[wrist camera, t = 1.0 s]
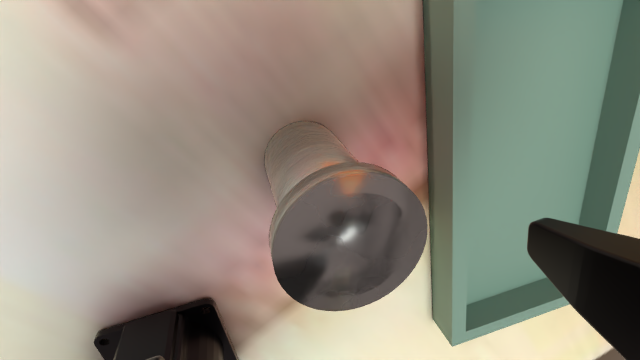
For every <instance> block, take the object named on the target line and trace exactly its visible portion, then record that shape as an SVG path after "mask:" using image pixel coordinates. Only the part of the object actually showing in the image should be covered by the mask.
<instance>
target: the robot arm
mask: <svg viewBox="0 0 640 360" xmlns="http://www.w3.org/2000/svg"><path fill="white" fill-rule="evenodd" d="M527 251H528V254H529V256H530V257H531V259H532V260H533V261H534V262H535V264H536V265H537V266H538V267H539V268H540V269H541V271H542V272H543V273H544V274H545V275H546V277H547V278H548V279H549V280H550V281H551V282H552V284H553V285H554V286H555V287H556V288H557V289H558V291H559V292H560V293H561V294H562V295H563V296H564V298H565V299H566V300H567V301H568V302H569V303H570V304H571V306H572V307H573V308H574V309H575V310H576V311H577V312H578V313H579V314H580V315H581V316H582V317H583V318H584V319H585V320H586V321H587V322H588V323H589V324H590V325H591V326H592V327H593V328H594V329H595V330H596V331H597V332H598V333H599V334H600V335H601V336H602V337H603V338H604V339H605V340H606V341H607V342H608V343H610V344H611V345H612V346H613V347H614V348H615V349H616V350H617V351H618V352H619V353H620V354H621V355H622V356H623V357H624V358H625V359H626V360H640V239H638V238H633V237H629V236H625V235H621V234H616V233H612V232H608V231H603V230H599V229H595V228H591V227H586V226H582V225H578V224H573V223H569V222H565V221H561V220H556V219H552V218H542V219H539V220H536V221H533V222H531V223H530V225H529V227H528V239H527ZM204 307H209V308H208V309H204ZM105 339H107V340H105ZM94 344H95V346H96V348H97V349H98V351H99V352H100V354H101V355H102V356H103V358H104V359H105V360H239V359H238V357H237V355H236V352H235V350H234V347H233V345H232V343H231V340H230V338H229V335H228V333H227V331H226V328H225V326H224V323H223V321H222V319H221V316H220V314H219V311H218V309H217V307H216V304H215V302H214V301H213V300H211V299H202V300H199V301H196V302H192V303H189V304H186V305H183V306H179V307H176V308H173V309H169V310H166V311H163V312H160V313H156V314H153V315H150V316H147V317H143V318H140V319H137V320H133V321H130V322H127V323H124V324H120V325H117V326H114V327H111V328H107V329H104V330H101V331H99V332H98V333H97V335H96V337H95V340H94Z"/></svg>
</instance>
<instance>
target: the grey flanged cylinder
mask: <svg viewBox="0 0 640 360" xmlns="http://www.w3.org/2000/svg"><path fill="white" fill-rule="evenodd" d="M264 163H265V169H266V172H267V176H268V179H269V183H270V186H271V190H272V193H273V197H274V200H275V204H276V207H277V209H276V211H275V213H274V216H273V218H272V221H271V225H270V231H269V247H270V251H271V256H272V261H273V266H274V271H275V274H276V277H277V279H278V281H279V283H280V285H281V286H282V288H283V289H284V290H285V291H286V292H287V294H288V295H290V296H291V297H292V298H293V299H294V300H296V301H298V302H299V303H301V304H303V305H306V306H308V307H311V308H314V309H318V310H325V311H344V310H350V309H355V308H358V307H362V306H365V305H368V304H370V303H372V302H375V301H377V300H379V299H381V298H382V297H384V296H385V295H387V294H389V293H390V292H391V291H393V290H394V289H395V288H397V287H398V286H399V285H400V284H401V283H402V282H403V281H404V280H405V279H406V278H407V277H408V276H409V274H410V273H411V272H412V270H413V269H414V268H415V266H416V264H417V263H418V261H419V259H420V257H421V255H422V253H423V250H424V247H425V243H426V238H427V219H426V215H425V211H424V209H423V206H422V204H421V202H420V201H419V199H418V198H417V196H416V195H415V194H414V193H413V192H412V191H411V190H410V189H409V188H408V187H407V186H406V185H405V184H404V183H403V182H401V181H400V180H399V179H398V178H397V177H396V176H395V175H393V174H392V173H391V172H389V171H388V170H386V169H384V168H382V167H379V166H376V165H373V164H369V163H363V162H358V160H357V159H356V158H355V157H354V156H353V155H352V154H351V153H350V152H349V151H348V150H347V148H346V147H345V146H344V145H343V144H342V143H341V142H340V141H339V140H338V139H337V138H336V137H335V135H334V134H333V133H332V132H331V131H330V130H329V129H327V128H326V127H324V126H323V125H321V124H318V123H315V122H310V121H300V122H295V123H292V124H289V125H287V126H285V127H283V128H282V129H280V130H279V131H278V132H277V133H276V134H275V135H274V136H273V137H272V139H271V140H270V142H269V143H268V146H267V148H266V151H265V157H264Z"/></svg>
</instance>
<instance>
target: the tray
mask: <svg viewBox="0 0 640 360" xmlns="http://www.w3.org/2000/svg"><path fill="white" fill-rule="evenodd" d="M423 20H424V52H425V84H426V116H427V148H428V180H429V212H430V244H431V277H432V309H433V320H434V321H435V323H436V324H437V326H438V327H439V328H440V330H441V331H442V333H443V334H444V336H445V337H446V339H447V340H448V341H449V343H450V344H451V346H452V347H453V346H455V345H458V344H461V343H464V342H466V341H469V340H472V339H475V338H477V337H480V336H483V335H486V334H489V333H491V332H494V331H497V330H500V329H502V328H505V327H508V326H511V325H513V324H516V323H519V322H522V321H525V320H527V319H530V318H533V317H536V316H538V315H541V314H544V313H547V312H549V311H552V310H555V309H558V308H560V307H563V306H566V305H569V304H570V303H569V302H568V301H567V300H566V299H565V298H564V296H563V295H562V294H561V293H560V292H559V291H558V289H557V288H556V287H555V286H554V285H553V284H552V282H551V281H550V280H549V279H548V278H547V277H546V275H545V274H544V273H543V272H542V271H541V269H540V268H539V267H538V266H537V265H536V264H535V262H534V261H533V260H532V259H531V257H530V256H529V254H528V251H527V239H528V227H529V225H530V223H531V222H533V221H536V220H539V219H542V218H552V219H556V220H561V221H565V222H569V223H573V224H578V225H582V226H586V227H591V228H595V229H599V230H603V231H608V232H612V233H616V234H617V232H618V228H619V225H620V221H621V217H622V213H623V209H624V206H625V202H626V198H627V194H628V190H629V187H630V183H631V179H632V175H633V172H634V168H635V164H636V160H637V156H638V153H639V149H640V0H423Z"/></svg>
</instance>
